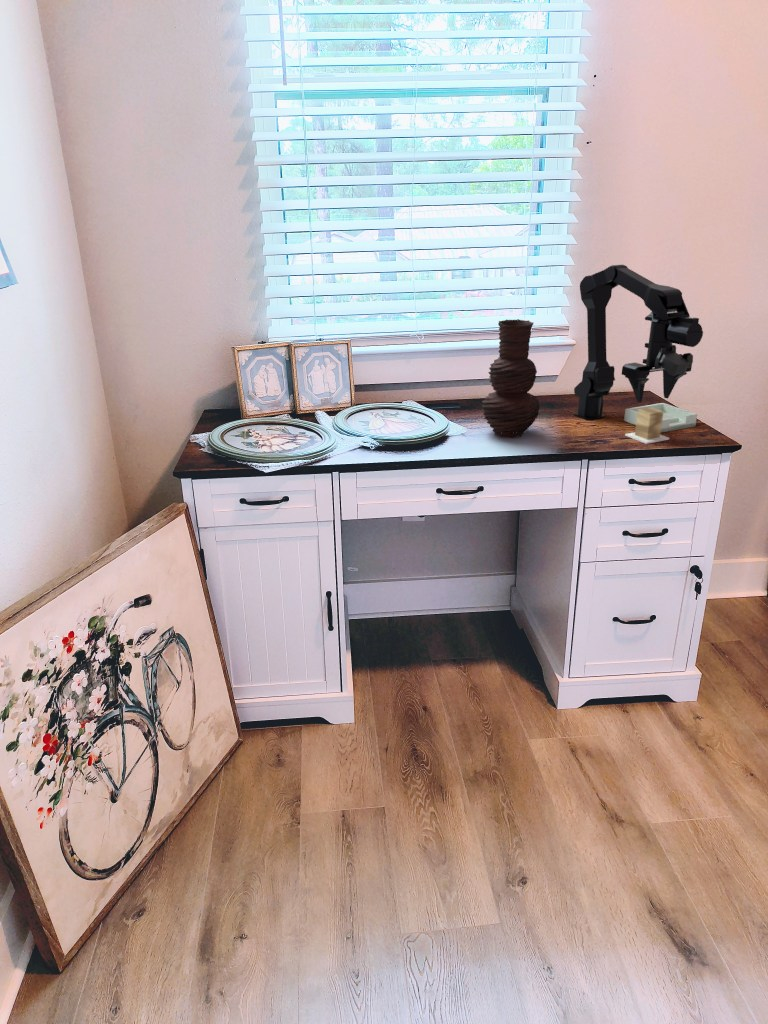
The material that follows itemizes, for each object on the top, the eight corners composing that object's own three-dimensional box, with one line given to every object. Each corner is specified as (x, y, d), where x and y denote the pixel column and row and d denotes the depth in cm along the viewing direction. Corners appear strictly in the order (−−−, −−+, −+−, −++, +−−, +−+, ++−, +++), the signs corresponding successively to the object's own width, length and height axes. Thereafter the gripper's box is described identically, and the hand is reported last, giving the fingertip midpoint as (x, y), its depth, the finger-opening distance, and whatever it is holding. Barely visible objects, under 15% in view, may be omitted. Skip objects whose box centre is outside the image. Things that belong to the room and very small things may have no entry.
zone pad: (646, 443, 198) (646, 442, 198) (624, 435, 204) (625, 433, 204) (669, 439, 201) (669, 438, 201) (647, 431, 207) (647, 429, 207)
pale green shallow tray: (657, 433, 206) (658, 420, 204) (624, 420, 216) (625, 408, 215) (695, 426, 211) (697, 414, 210) (661, 414, 222) (662, 402, 221)
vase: (468, 432, 208) (473, 321, 195) (506, 421, 217) (512, 315, 204) (511, 446, 197) (518, 329, 185) (549, 434, 206) (558, 322, 194)
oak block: (646, 439, 200) (650, 414, 197) (634, 434, 203) (638, 409, 201) (659, 437, 201) (663, 411, 199) (647, 432, 205) (651, 407, 202)
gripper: (655, 349, 182) (647, 412, 188) (712, 342, 189) (703, 403, 195) (623, 341, 191) (616, 401, 197) (679, 335, 198) (670, 393, 204)
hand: (652, 400), depth 198 cm, fingers open, 9 cm apart
